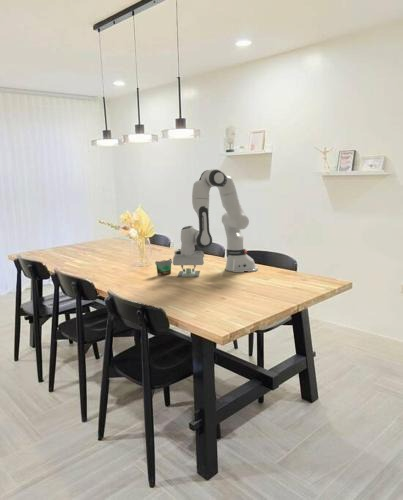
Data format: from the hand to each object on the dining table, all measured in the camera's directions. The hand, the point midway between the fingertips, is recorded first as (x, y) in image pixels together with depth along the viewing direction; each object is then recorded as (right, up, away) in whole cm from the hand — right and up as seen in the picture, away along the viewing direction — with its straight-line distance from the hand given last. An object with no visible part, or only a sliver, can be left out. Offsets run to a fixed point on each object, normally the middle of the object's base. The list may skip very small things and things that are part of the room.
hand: (188, 271), depth 261 cm
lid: (0, -2, 0) cm, 2 cm away
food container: (-15, -3, +1) cm, 15 cm away
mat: (0, -2, 0) cm, 2 cm away
